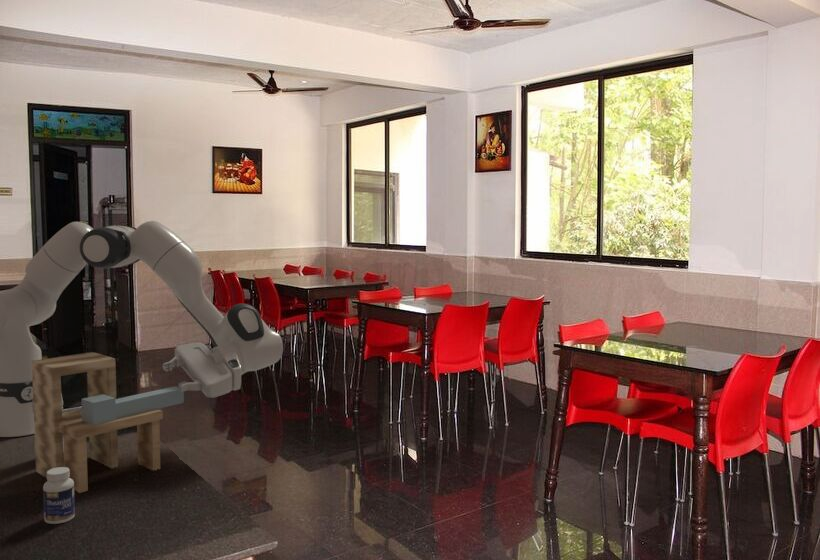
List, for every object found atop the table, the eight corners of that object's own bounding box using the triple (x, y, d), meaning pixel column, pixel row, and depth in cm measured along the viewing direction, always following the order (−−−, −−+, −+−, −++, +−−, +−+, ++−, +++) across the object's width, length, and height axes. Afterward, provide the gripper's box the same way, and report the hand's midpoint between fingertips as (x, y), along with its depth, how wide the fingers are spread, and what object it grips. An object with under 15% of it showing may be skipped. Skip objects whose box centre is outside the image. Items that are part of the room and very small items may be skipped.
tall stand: (36, 471, 158) (31, 360, 155) (96, 455, 168) (93, 352, 166) (56, 484, 151) (52, 368, 148) (118, 466, 161) (115, 358, 159)
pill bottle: (44, 527, 130) (42, 477, 129) (44, 515, 135) (42, 468, 134) (75, 521, 133) (73, 473, 132) (74, 510, 137) (73, 463, 137)
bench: (61, 484, 150) (59, 422, 149) (146, 460, 166) (144, 404, 164) (77, 494, 145) (75, 430, 144) (163, 468, 161) (162, 410, 159)
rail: (82, 421, 151) (81, 398, 150) (173, 399, 169) (173, 379, 168) (93, 425, 148) (93, 402, 147) (185, 403, 166) (185, 382, 165)
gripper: (206, 332, 180) (154, 346, 171) (243, 371, 166) (188, 388, 158) (206, 352, 182) (155, 367, 174) (243, 392, 169) (189, 410, 161)
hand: (171, 377), depth 166 cm, fingers open, 8 cm apart
